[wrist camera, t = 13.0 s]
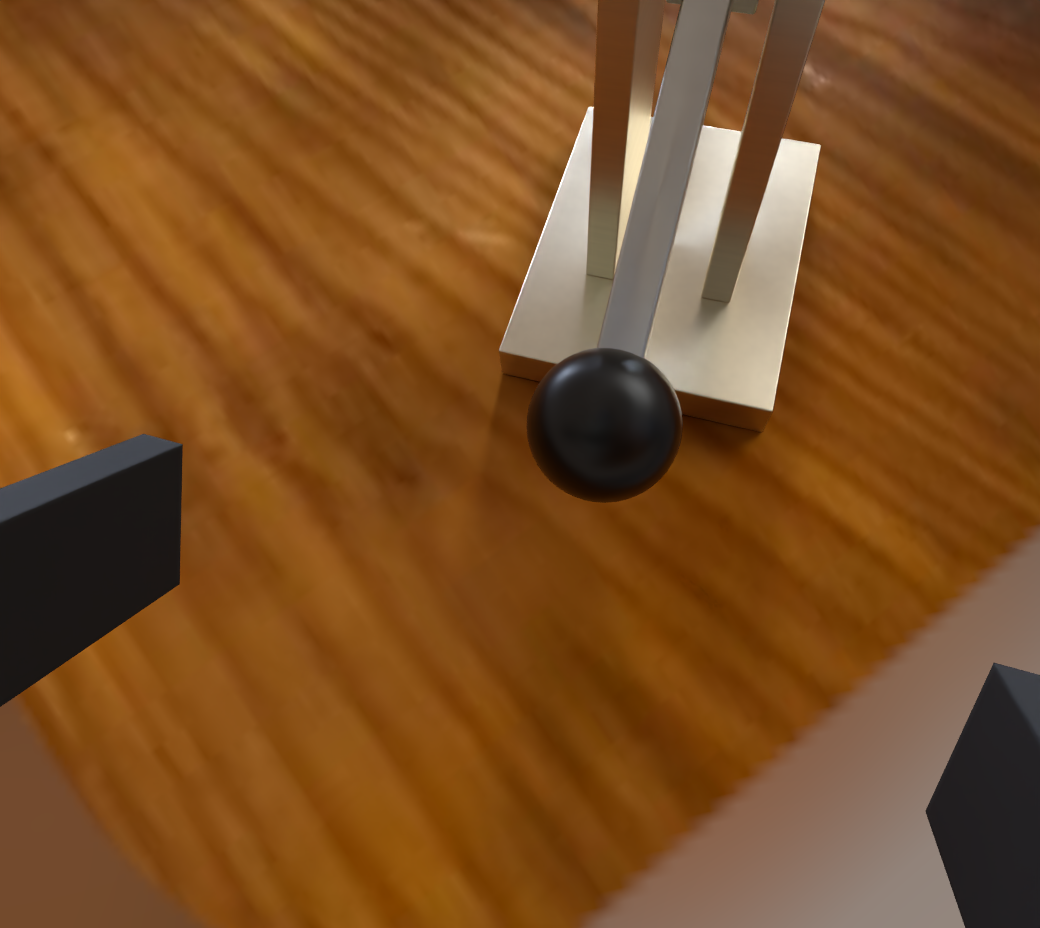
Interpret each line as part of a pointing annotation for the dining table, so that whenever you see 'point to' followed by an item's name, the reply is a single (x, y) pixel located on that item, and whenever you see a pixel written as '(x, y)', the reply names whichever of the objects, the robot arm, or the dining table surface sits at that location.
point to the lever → (635, 299)
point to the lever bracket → (680, 226)
